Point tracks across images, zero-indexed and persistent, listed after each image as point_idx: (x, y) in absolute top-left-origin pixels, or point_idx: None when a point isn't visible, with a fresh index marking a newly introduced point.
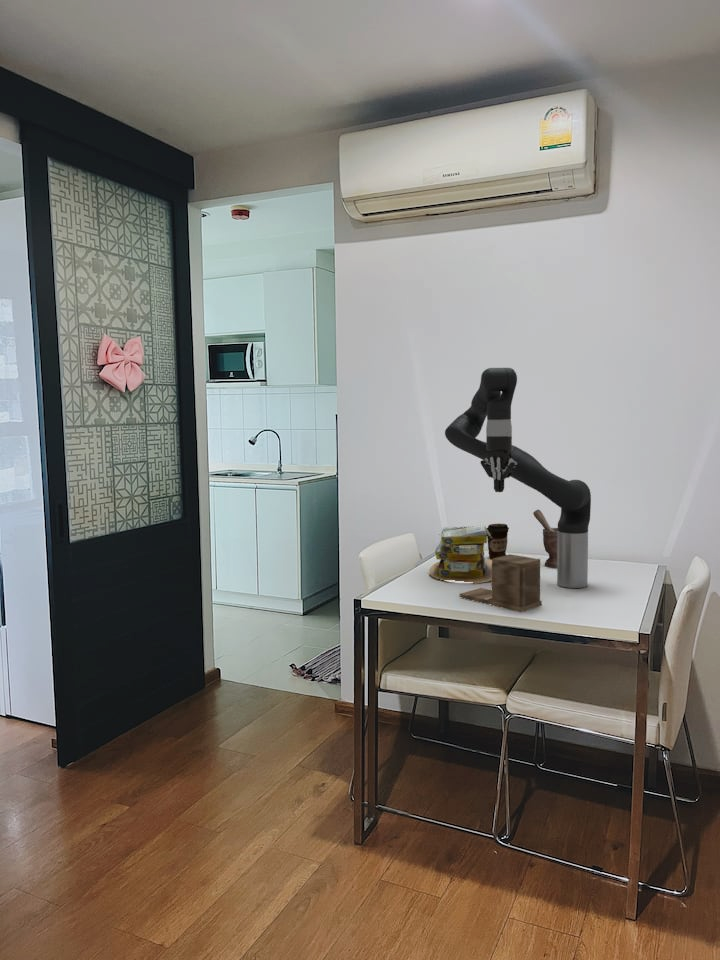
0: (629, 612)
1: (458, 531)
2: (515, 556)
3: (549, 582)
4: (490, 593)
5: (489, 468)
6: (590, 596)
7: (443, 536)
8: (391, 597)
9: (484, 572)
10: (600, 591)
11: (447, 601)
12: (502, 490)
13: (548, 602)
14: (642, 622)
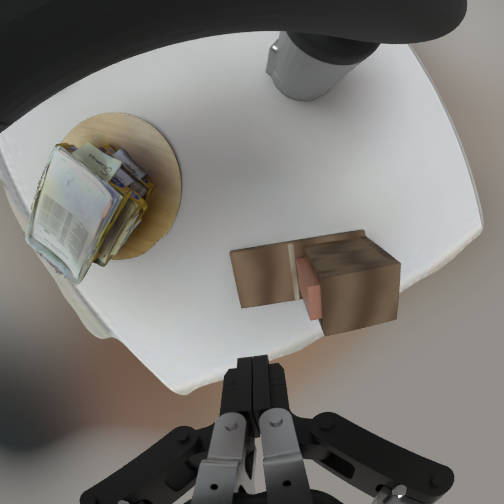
0: (452, 162)
1: (47, 216)
2: (346, 284)
3: (257, 90)
4: (273, 267)
5: (170, 490)
6: (376, 119)
7: (78, 282)
8: (183, 368)
9: (145, 175)
10: (363, 78)
11: (247, 330)
12: (268, 361)
13: (359, 207)
14: (475, 192)
